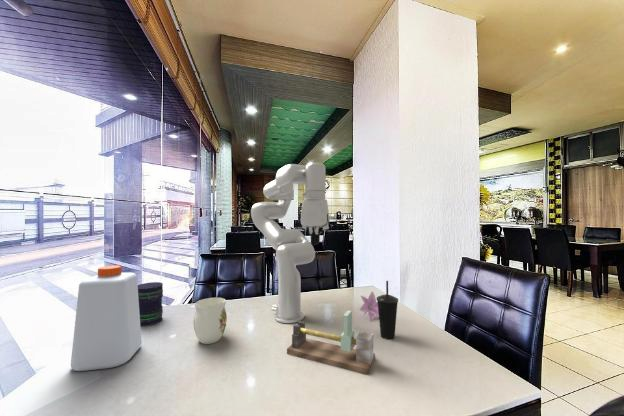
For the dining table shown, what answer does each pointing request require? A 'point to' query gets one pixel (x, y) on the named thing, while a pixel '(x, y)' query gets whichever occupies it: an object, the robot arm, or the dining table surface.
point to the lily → (370, 306)
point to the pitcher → (210, 319)
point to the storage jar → (150, 303)
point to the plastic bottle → (106, 320)
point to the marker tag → (347, 332)
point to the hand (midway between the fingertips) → (315, 244)
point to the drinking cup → (387, 314)
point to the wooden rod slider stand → (333, 349)
